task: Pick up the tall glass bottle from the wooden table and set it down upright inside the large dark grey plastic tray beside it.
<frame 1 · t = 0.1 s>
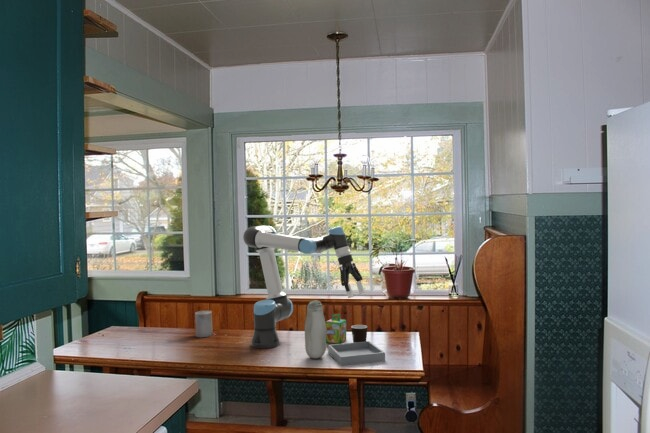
hand: (356, 295, 272), 28 cm above the table, tool tilted 20°, fingers open, 13 cm apart
coffee mug: (360, 345, 281), on the table
chalk box: (336, 341, 289), on the table
tray: (355, 356, 259), on the table
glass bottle: (315, 358, 259), on the table
pillar candle: (204, 335, 309), on the table
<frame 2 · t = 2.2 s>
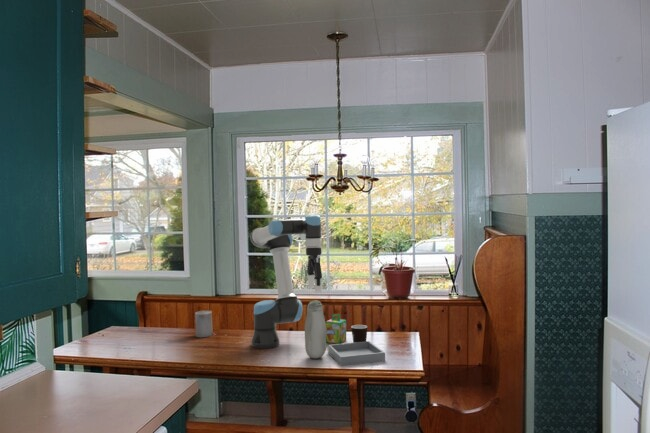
hand: (314, 290, 258), 33 cm above the table, tool pointing down, fingers open, 13 cm apart
nothing on the table moved.
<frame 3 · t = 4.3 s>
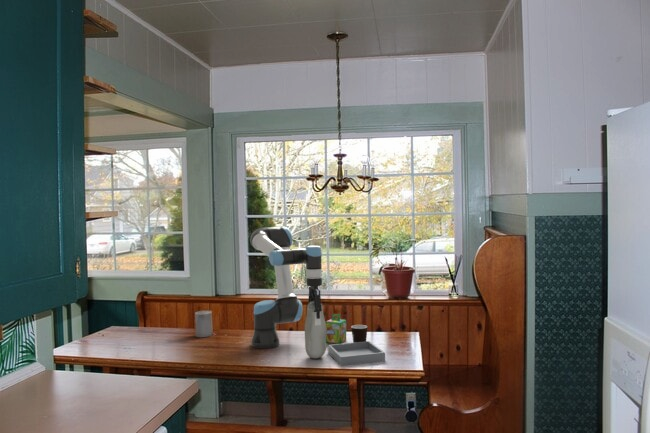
hand: (315, 322, 259), 17 cm above the table, tool pointing down, fingers closed on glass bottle, 10 cm apart
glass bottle: (315, 358, 259), on the table, touching gripper
everything else where it was.
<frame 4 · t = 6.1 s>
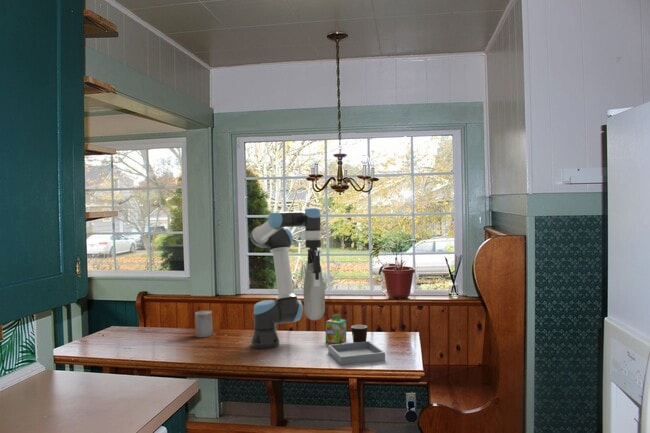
hand: (314, 284, 258), 36 cm above the table, tool pointing down, fingers closed on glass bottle, 10 cm apart
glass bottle: (314, 320, 259), point 18 cm above the table, touching gripper
everything else where it was.
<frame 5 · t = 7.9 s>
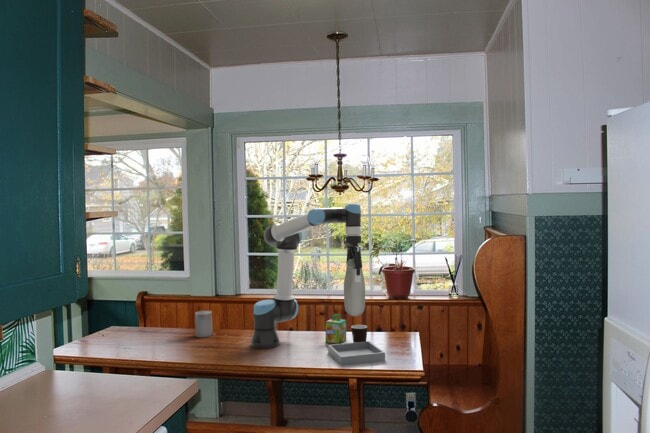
hand: (354, 280, 258), 38 cm above the table, tool pointing down, fingers closed on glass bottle, 10 cm apart
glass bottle: (355, 316, 259), point 20 cm above the table, touching gripper
everything else where it was.
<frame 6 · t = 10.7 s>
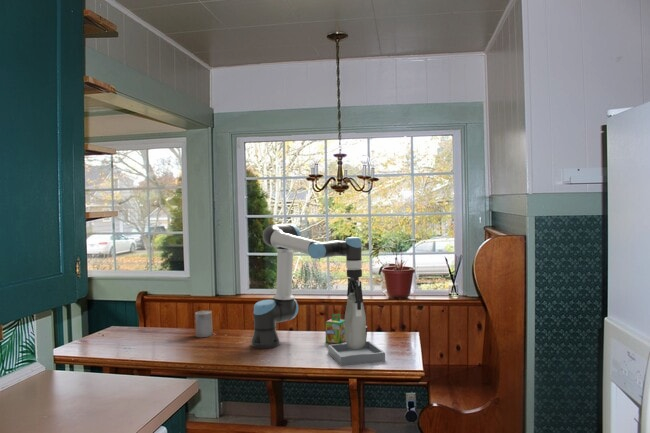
hand: (355, 314, 259), 21 cm above the table, tool pointing down, fingers closed on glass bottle, 10 cm apart
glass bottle: (355, 349, 259), point 4 cm above the table, touching gripper
everything else where it was.
when the fingers open (20 cm above the table, at t = 11.7 s): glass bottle drops 1 cm, resting on tray.
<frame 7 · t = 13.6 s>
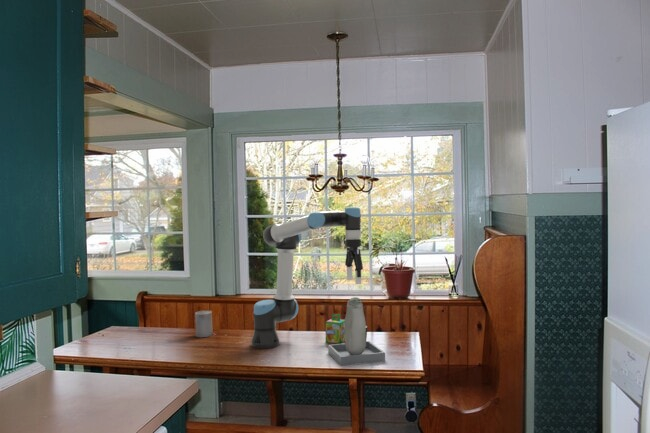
hand: (354, 282, 258), 37 cm above the table, tool pointing down, fingers open, 13 cm apart
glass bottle: (355, 355, 259), point 1 cm above the table, touching tray
everything else where it was.
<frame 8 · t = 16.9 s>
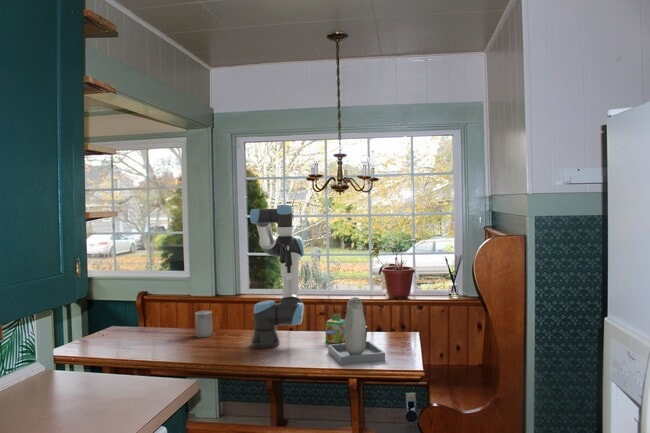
hand: (286, 277, 265), 39 cm above the table, tool pointing down, fingers open, 13 cm apart
nothing on the table moved.
at the end: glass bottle inside the target area on the tray (0.2 cm from its centre), point 0.8 cm above the tray's base; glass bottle tilted 0°; the gripper is holding nothing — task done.
